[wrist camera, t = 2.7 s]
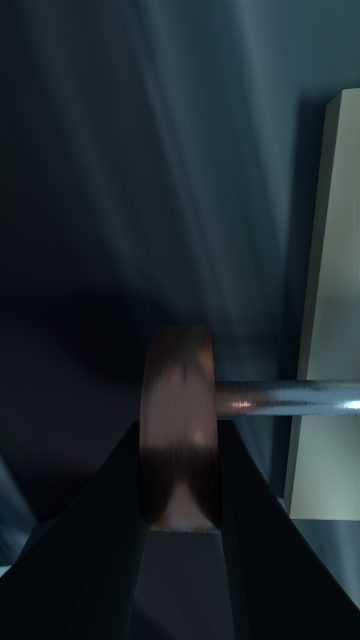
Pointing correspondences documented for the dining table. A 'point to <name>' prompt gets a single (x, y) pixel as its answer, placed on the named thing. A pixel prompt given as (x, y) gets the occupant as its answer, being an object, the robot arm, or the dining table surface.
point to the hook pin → (207, 423)
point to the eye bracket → (331, 328)
